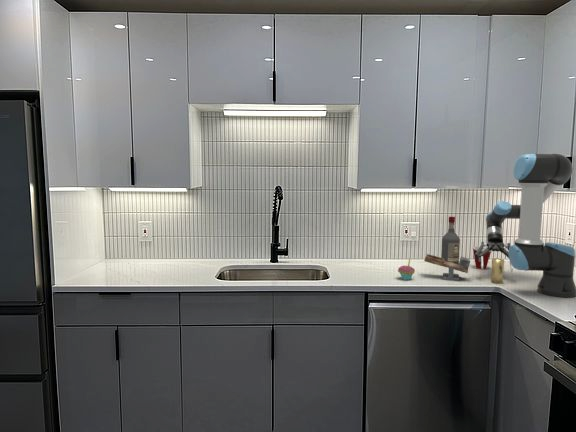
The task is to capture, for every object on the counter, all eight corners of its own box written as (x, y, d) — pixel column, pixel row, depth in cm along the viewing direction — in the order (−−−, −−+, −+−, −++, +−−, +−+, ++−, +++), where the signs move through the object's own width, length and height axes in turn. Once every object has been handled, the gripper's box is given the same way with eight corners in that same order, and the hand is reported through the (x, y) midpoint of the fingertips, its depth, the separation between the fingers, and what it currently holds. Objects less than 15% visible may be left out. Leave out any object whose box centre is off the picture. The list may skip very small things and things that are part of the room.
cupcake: (417, 278, 205) (417, 256, 203) (409, 281, 199) (410, 259, 197) (402, 276, 211) (403, 254, 209) (394, 278, 205) (395, 256, 203)
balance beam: (466, 269, 207) (469, 258, 206) (467, 273, 199) (470, 261, 198) (425, 258, 215) (427, 247, 214) (424, 261, 207) (427, 250, 206)
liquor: (438, 263, 242) (440, 216, 239) (450, 262, 245) (452, 215, 242) (449, 266, 234) (451, 217, 231) (461, 265, 237) (463, 217, 234)
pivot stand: (458, 276, 210) (459, 262, 209) (459, 281, 200) (459, 267, 199) (442, 274, 213) (443, 261, 212) (442, 279, 203) (443, 265, 202)
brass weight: (504, 282, 198) (505, 259, 196) (500, 284, 194) (501, 261, 193) (493, 280, 202) (494, 257, 201) (489, 282, 198) (490, 259, 197)
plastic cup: (484, 270, 222) (485, 250, 221) (467, 267, 231) (468, 247, 230) (495, 268, 228) (496, 248, 227) (478, 265, 237) (478, 246, 236)
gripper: (519, 241, 208) (523, 275, 196) (469, 239, 217) (469, 270, 205) (522, 233, 203) (526, 267, 190) (470, 231, 212) (470, 263, 200)
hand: (496, 269), depth 198 cm, fingers open, 13 cm apart
